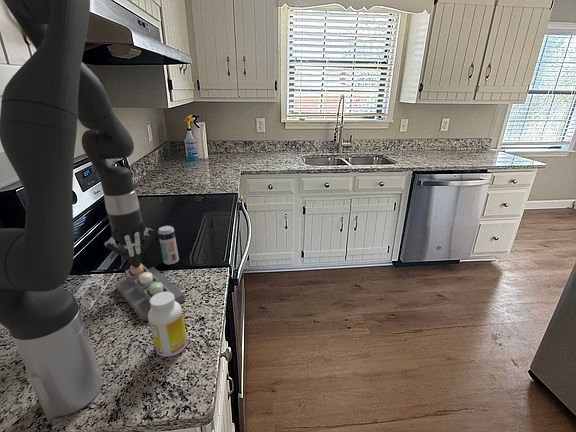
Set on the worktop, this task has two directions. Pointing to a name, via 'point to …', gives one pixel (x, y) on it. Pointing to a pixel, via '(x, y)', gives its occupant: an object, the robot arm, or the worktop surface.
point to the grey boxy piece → (144, 291)
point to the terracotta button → (136, 270)
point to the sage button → (155, 288)
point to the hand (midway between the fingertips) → (136, 265)
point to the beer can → (168, 245)
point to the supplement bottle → (167, 324)
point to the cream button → (145, 278)
